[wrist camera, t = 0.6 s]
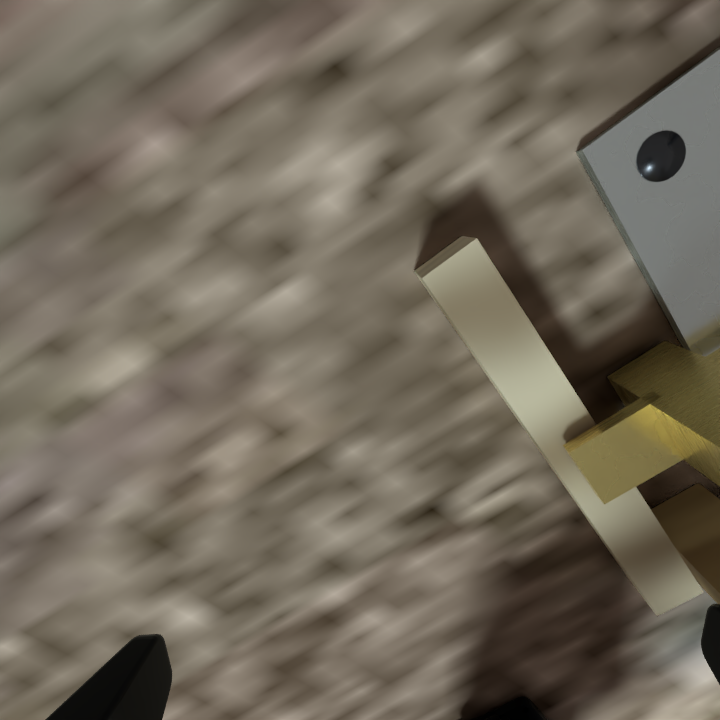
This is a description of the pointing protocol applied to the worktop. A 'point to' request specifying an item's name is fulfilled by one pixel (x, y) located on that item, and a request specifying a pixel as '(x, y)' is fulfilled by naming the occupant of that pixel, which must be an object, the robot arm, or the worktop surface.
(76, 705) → the robot arm
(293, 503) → the worktop surface
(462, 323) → the trammel beam
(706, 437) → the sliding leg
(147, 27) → the worktop surface
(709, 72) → the bolt plate
